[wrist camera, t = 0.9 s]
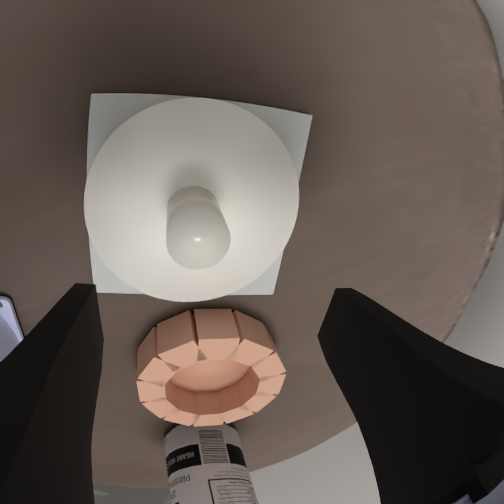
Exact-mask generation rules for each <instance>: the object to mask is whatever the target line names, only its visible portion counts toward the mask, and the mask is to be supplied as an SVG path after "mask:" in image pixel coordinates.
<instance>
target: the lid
mask: <svg viewBox="0 0 504 504" xmlns="http://www.w3.org/2000/svg"><path fill="white" fill-rule="evenodd" d="M298 207H299V186H298V178H297V174H296V170H295V166H294V164H293V161H292V159H291V156H290V154H289V152H288V151H287V149H286V147H285V145H284V144H283V142H282V141H281V139H280V138H279V137H278V136H277V134H276V133H275V132H274V131H273V130H272V129H271V128H270V127H269V126H268V125H267V124H266V123H265V122H264V121H262V120H261V119H259V118H258V117H257V116H255V115H254V114H252V113H251V112H249V111H247V110H245V109H243V108H241V107H239V106H237V105H234V104H231V103H228V102H225V101H221V100H215V99H209V98H181V99H174V100H170V101H166V102H162V103H159V104H156V105H154V106H151V107H149V108H147V109H144V110H142V111H141V112H139V113H137V114H136V115H134V116H132V117H131V118H129V119H128V120H127V121H125V122H124V123H123V124H122V125H121V126H119V127H118V128H117V129H116V130H115V131H114V132H113V133H112V134H111V135H110V137H109V138H108V139H107V140H106V141H105V143H104V144H103V146H102V147H101V149H100V150H99V151H98V153H97V155H96V157H95V159H94V161H93V163H92V165H91V168H90V171H89V174H88V177H87V181H86V186H85V192H84V214H85V222H86V226H87V230H88V234H89V236H90V239H91V241H92V244H93V246H94V248H95V250H96V251H97V253H98V255H99V256H100V258H101V259H102V261H103V262H104V263H105V264H106V266H107V267H108V268H109V269H110V270H111V271H112V272H113V273H114V274H115V275H116V276H117V277H118V278H120V279H121V280H122V281H123V282H125V283H126V284H128V285H129V286H131V287H133V288H134V289H136V290H138V291H140V292H142V293H145V294H147V295H150V296H153V297H156V298H160V299H164V300H170V301H179V302H196V301H204V300H210V299H214V298H218V297H222V296H225V295H227V294H230V293H232V292H235V291H237V290H239V289H241V288H243V287H244V286H246V285H248V284H249V283H251V282H252V281H254V280H255V279H257V278H258V277H259V276H260V275H261V274H263V273H264V272H265V271H266V270H267V269H268V268H269V267H270V266H271V265H272V264H273V263H274V262H275V260H276V259H277V258H278V256H279V255H280V254H281V252H282V251H283V249H284V247H285V246H286V244H287V242H288V240H289V238H290V236H291V234H292V231H293V228H294V225H295V222H296V218H297V213H298Z"/></svg>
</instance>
